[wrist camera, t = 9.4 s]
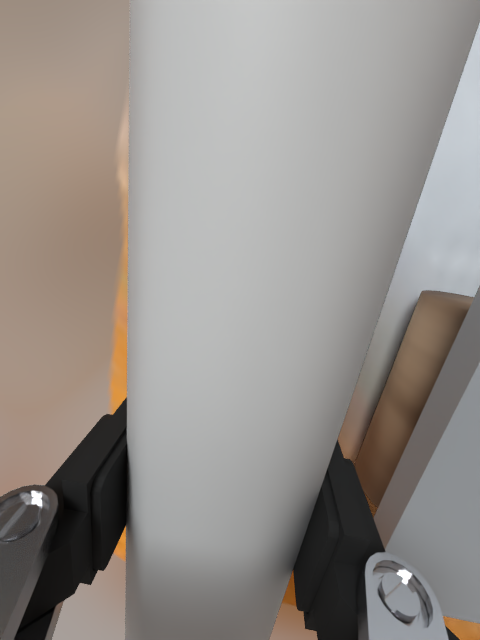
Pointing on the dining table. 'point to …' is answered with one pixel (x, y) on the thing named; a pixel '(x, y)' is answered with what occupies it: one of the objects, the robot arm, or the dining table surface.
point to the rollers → (409, 387)
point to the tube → (260, 274)
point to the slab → (443, 483)
